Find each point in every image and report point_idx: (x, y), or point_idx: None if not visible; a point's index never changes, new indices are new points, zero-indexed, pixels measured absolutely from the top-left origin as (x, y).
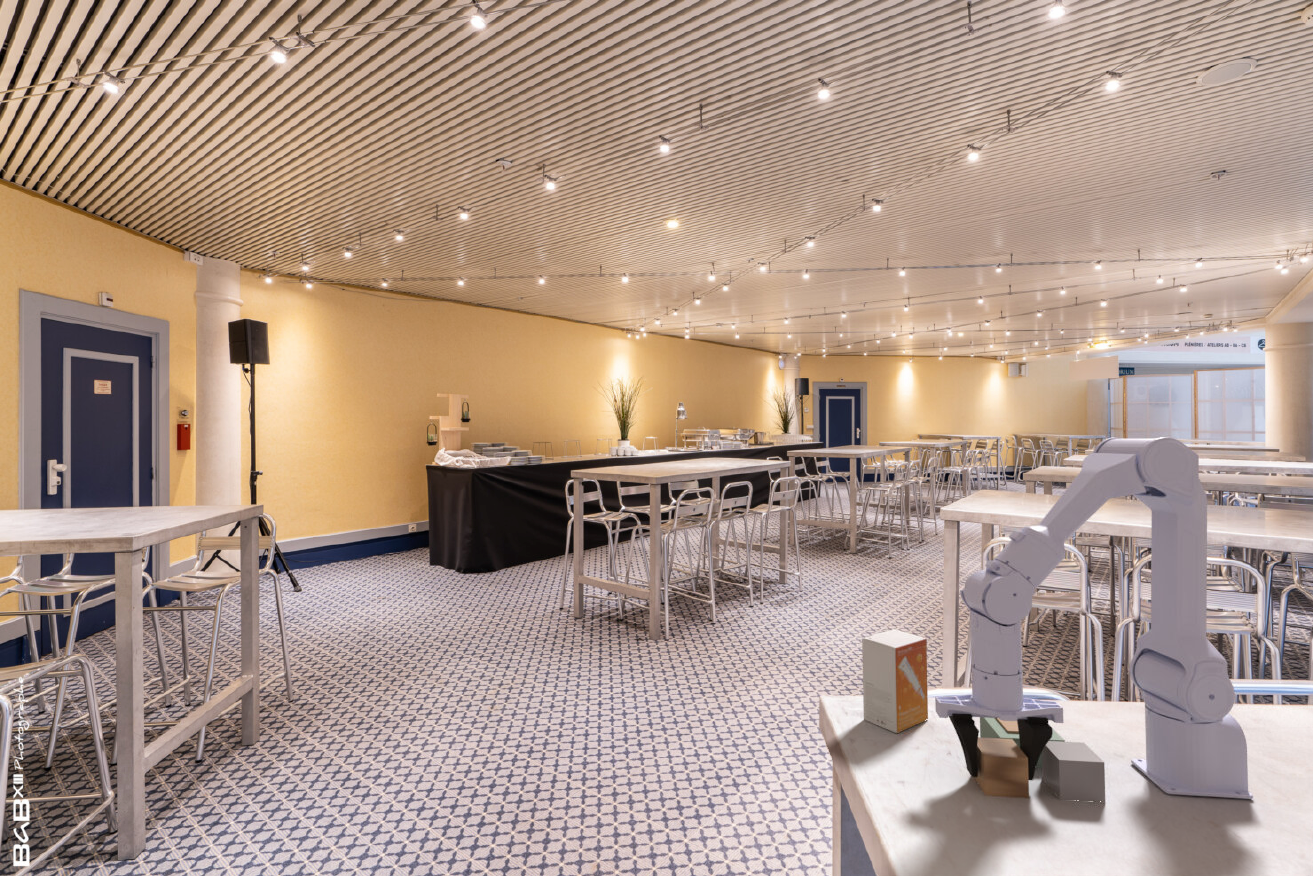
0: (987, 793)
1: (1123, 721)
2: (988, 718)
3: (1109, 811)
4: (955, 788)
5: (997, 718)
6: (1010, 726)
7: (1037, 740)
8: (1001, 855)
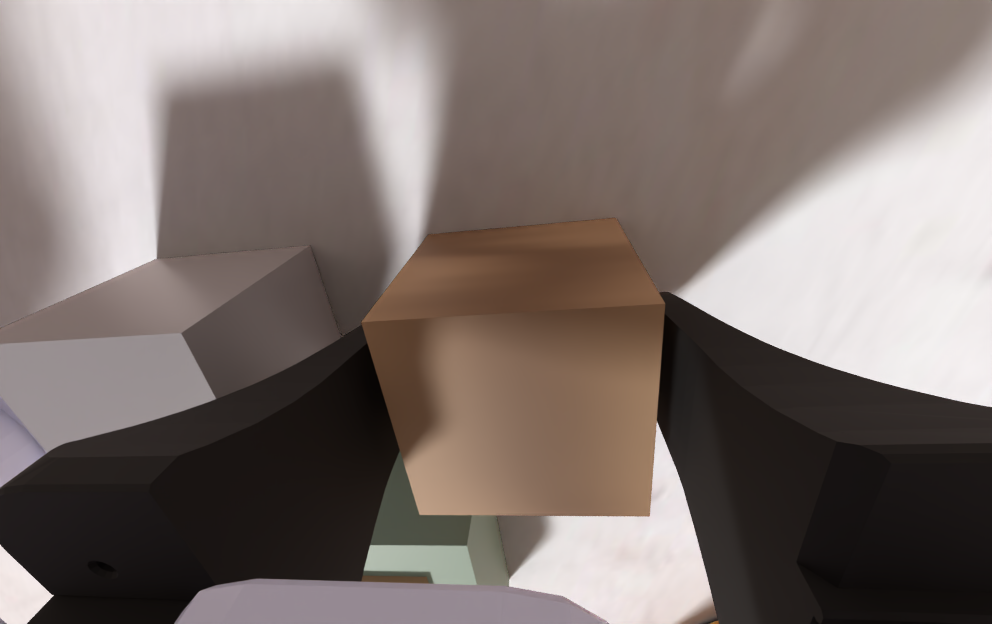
0: (607, 220)
1: None
2: None
3: (139, 199)
4: (738, 254)
5: None
6: None
7: (219, 420)
8: None
